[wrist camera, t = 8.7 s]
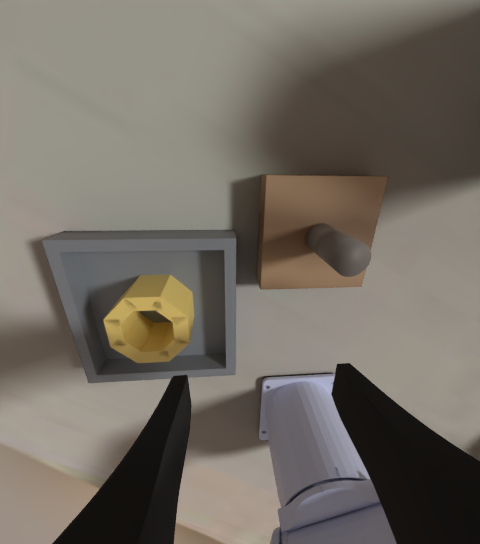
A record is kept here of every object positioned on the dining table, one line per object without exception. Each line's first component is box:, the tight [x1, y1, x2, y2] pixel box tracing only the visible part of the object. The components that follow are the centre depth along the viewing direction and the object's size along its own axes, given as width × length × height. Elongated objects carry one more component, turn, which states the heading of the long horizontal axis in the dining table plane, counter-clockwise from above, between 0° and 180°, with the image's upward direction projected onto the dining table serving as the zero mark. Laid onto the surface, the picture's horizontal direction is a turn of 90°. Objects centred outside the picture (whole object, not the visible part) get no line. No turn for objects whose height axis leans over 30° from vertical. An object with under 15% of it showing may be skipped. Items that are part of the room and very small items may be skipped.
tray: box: [42, 230, 236, 383], centre depth 19 cm, size 12×12×2 cm
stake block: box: [257, 175, 388, 289], centre depth 16 cm, size 8×8×6 cm
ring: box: [104, 275, 194, 363], centre depth 18 cm, size 5×5×4 cm
